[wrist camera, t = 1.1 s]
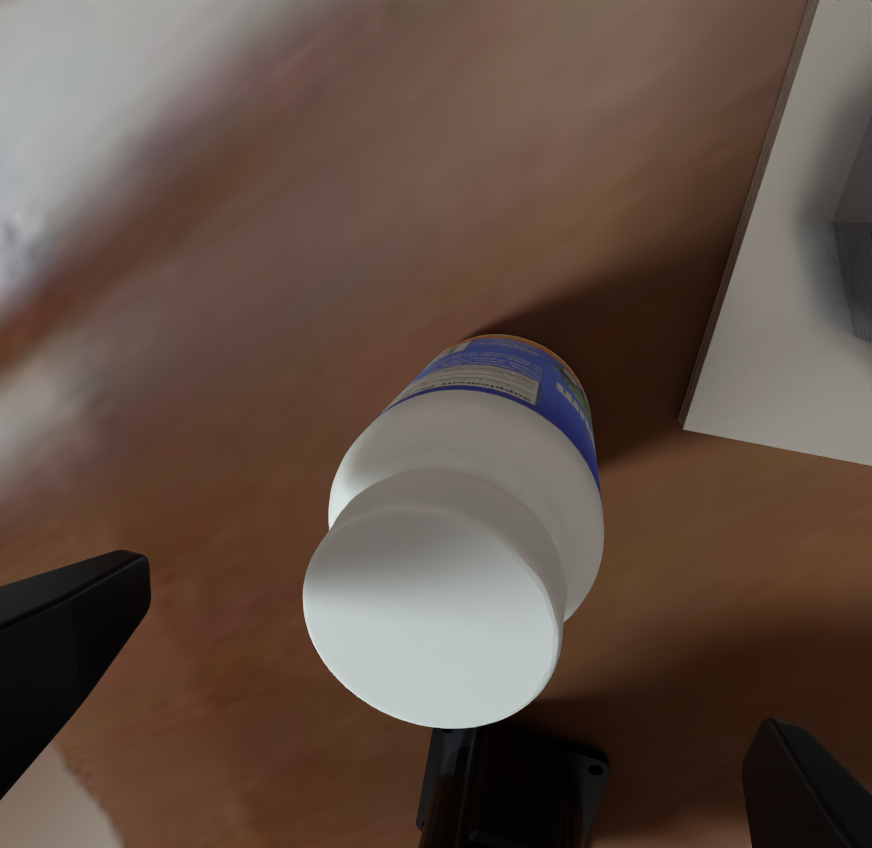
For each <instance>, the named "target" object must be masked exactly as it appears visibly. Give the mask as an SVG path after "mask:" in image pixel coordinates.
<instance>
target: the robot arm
mask: <svg viewBox="0 0 872 848" xmlns="http://www.w3.org/2000/svg"><path fill="white" fill-rule="evenodd" d="M150 602H151V586H150V569H149V561H148V559H147V557H146V556H144V555H142V554H139V553H135V552H131V551H127V550H116V551H113V552H110V553H107V554H103V555H100V556H97V557H94V558H90V559H87V560H84V561H81V562H78V563H74V564H71V565H68V566H65V567H61V568H58V569H55V570H52V571H49V572H45V573H42V574H39V575H36V576H33V577H29V578H26V579H23V580H20V581H16V582H13V583H10V584H7V585H4V586H0V800H1V799H2V798H3V797H4V795H5V794H6V793H7V792H8V791H9V789H10V788H11V787H12V786H13V785H14V784H15V783H16V781H17V780H18V779H19V778H20V777H21V776H22V774H23V773H24V772H25V771H26V770H27V768H28V767H29V766H30V765H31V764H32V763H33V761H34V760H35V759H36V758H37V757H38V755H39V754H40V753H41V752H42V751H43V750H44V748H45V747H46V746H47V745H48V744H49V743H50V741H51V740H52V739H53V738H54V737H55V736H56V734H57V733H58V732H59V731H60V730H61V729H62V727H63V726H64V725H65V724H66V723H67V722H68V720H69V719H70V718H71V717H72V716H73V714H74V713H75V712H76V711H77V709H78V708H79V707H80V706H81V704H82V703H83V702H84V701H85V699H86V698H87V697H88V695H89V694H90V693H91V691H92V690H93V689H94V687H95V686H96V684H97V683H98V682H99V680H100V679H101V677H102V676H103V675H104V673H105V672H106V670H107V669H108V667H109V666H110V665H111V663H112V662H113V660H114V659H115V658H116V656H117V655H118V653H119V652H120V651H121V649H122V648H123V646H124V645H125V643H126V642H127V641H128V639H129V638H130V636H131V635H132V634H133V632H134V631H135V629H136V628H137V627H138V625H139V624H140V622H141V621H142V619H143V618H144V617H145V615H146V613H147V611H148V609H149V606H150ZM596 765H597V766H596ZM609 775H610V765H609V759H608V757H607V756H606V755H605V754H604V753H603V752H600V751H598V750H594V749H591V748H587V747H584V746H580V745H576V744H573V743H569V742H566V741H562V740H558V739H555V738H551V737H547V736H544V735H540V734H537V733H533V732H529V731H526V730H522V729H519V728H515V727H511V726H508V725H504V724H501V723H497V722H493V723H490V724H486V725H482V726H477V727H471V728H457V729H446V728H435V727H433V731H432V737H431V742H430V748H429V753H428V759H427V764H426V770H425V776H424V781H423V787H422V792H421V798H420V803H419V809H418V814H417V820H416V825H417V827H418V829H420V830H421V831H422V835H421V839H420V844H419V848H584V846H585V843H586V840H587V837H588V834H589V831H590V829H591V826H592V823H593V820H594V817H595V814H596V812H597V809H598V806H599V803H600V800H601V797H602V795H603V792H604V789H605V786H606V783H607V780H608V778H609ZM742 782H743V789H744V796H745V802H746V809H747V816H748V822H749V829H750V836H751V842H752V848H872V794H871V793H870V792H869V791H868V790H867V789H866V788H865V787H864V786H863V785H862V784H861V783H860V782H859V781H858V780H857V779H856V778H855V777H854V776H853V775H852V774H851V773H850V772H849V771H848V770H847V769H846V768H845V767H844V766H843V765H842V764H841V763H840V762H839V761H838V760H837V759H836V758H835V757H834V756H833V755H832V754H831V753H830V752H829V751H828V750H827V749H826V748H824V747H823V746H822V745H821V744H820V743H819V742H818V741H817V740H816V739H815V738H814V737H813V736H812V735H811V734H810V733H809V732H808V731H807V730H806V729H805V728H804V727H803V726H801V725H799V724H797V723H793V722H789V721H786V720H782V719H778V718H774V717H767V718H765V719H764V720H762V722H761V723H760V725H759V727H758V729H757V732H756V734H755V736H754V738H753V740H752V742H751V745H750V747H749V749H748V751H747V753H746V755H745V758H744V760H743V765H742Z"/></svg>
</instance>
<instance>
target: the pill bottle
mask: <svg viewBox="0 0 872 848" xmlns="http://www.w3.org/2000/svg"><path fill="white" fill-rule="evenodd" d="M603 543H604V522H603V511H602V502H601V494H600V485H599V477H598V467H597V461H596V451H595V442H594V435H593V428H592V419H591V412H590V407H589V404H588V400H587V397H586V395H585V392H584V390H583V388H582V386H581V384H580V382H579V380H578V378H577V377H576V375H575V374H574V372H573V371H572V370H571V368H570V367H569V366H568V365H567V364H566V363H565V362H564V361H563V360H562V359H561V358H560V357H559V356H557V355H556V354H555V353H553V352H552V351H551V350H549V349H547V348H546V347H544V346H542V345H540V344H538V343H536V342H533V341H530V340H527V339H524V338H521V337H517V336H511V335H504V334H489V335H481V336H476V337H473V338H469V339H466V340H464V341H461V342H459V343H456V344H454V345H452V346H450V347H448V348H447V349H445V350H444V351H443V352H442V353H440V354H439V355H438V356H437V357H436V358H435V359H434V360H433V361H432V362H431V363H430V364H429V365H428V366H427V367H426V368H425V369H424V370H423V371H422V372H421V373H420V374H419V375H418V376H417V377H416V378H415V379H414V380H413V381H412V382H411V383H410V385H409V386H408V387H407V388H406V389H405V390H404V391H403V392H402V393H401V394H400V395H399V396H398V397H397V398H396V399H395V400H394V401H393V402H392V403H391V404H390V405H389V406H388V407H387V408H386V409H385V410H384V411H383V412H382V413H381V414H380V415H379V416H378V417H377V418H376V419H375V420H374V421H373V422H372V423H371V424H370V425H369V426H368V427H367V429H366V430H365V431H364V432H363V433H362V434H361V435H360V436H359V437H358V439H357V440H356V441H355V442H354V443H353V445H352V446H351V448H350V449H349V450H348V452H347V453H346V455H345V457H344V458H343V460H342V462H341V464H340V467H339V469H338V471H337V474H336V476H335V479H334V481H333V484H332V489H331V493H330V502H329V532H328V533H327V534H326V536H325V537H324V539H323V540H322V541H321V543H320V544H319V546H318V548H317V549H316V551H315V553H314V554H313V556H312V558H311V561H310V563H309V566H308V569H307V572H306V575H305V580H304V587H303V609H304V615H305V621H306V624H307V628H308V632H309V635H310V637H311V640H312V642H313V644H314V646H315V648H316V650H317V652H318V653H319V655H320V657H321V659H322V660H323V662H324V663H325V664H326V666H327V667H328V668H329V670H330V671H331V672H332V673H333V674H334V675H335V676H336V678H337V679H338V680H339V681H340V682H341V683H342V684H343V685H344V686H345V687H346V688H347V689H349V690H350V691H351V692H352V693H354V694H355V695H356V696H357V697H359V698H360V699H362V700H363V701H365V702H366V703H368V704H369V705H371V706H373V707H374V708H376V709H378V710H380V711H382V712H384V713H386V714H388V715H391V716H393V717H395V718H398V719H400V720H404V721H407V722H411V723H414V724H418V725H423V726H428V727H435V728H446V729H457V728H471V727H477V726H482V725H486V724H490V723H493V722H497V721H499V720H502V719H504V718H507V717H509V716H511V715H512V714H514V713H516V712H518V711H519V710H521V709H522V708H524V707H525V706H527V705H528V704H529V703H530V702H531V701H532V700H534V699H535V698H536V697H537V696H538V694H539V693H540V692H541V691H542V690H543V689H544V687H545V686H546V684H547V682H548V681H549V680H550V678H551V676H552V674H553V671H554V670H555V668H556V665H557V661H558V658H559V656H560V650H561V643H562V635H563V623H564V622H565V621H566V620H567V619H568V618H569V617H570V616H571V615H572V614H573V613H574V612H575V611H576V609H577V608H578V607H579V605H580V604H581V603H582V602H583V600H584V599H585V597H586V596H587V594H588V593H589V591H590V589H591V587H592V585H593V583H594V581H595V579H596V576H597V573H598V570H599V566H600V562H601V560H602V553H603Z"/></svg>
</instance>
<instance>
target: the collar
mask: <svg viewBox="0 0 872 848" xmlns="http://www.w3.org/2000/svg"><path fill="white" fill-rule="evenodd" d="M678 422H679V423H680V425H681V427H682V429H683V430H689V431H694V432H699V433H704V434H709V435H715V436H720V437H725V438H730V439H735V440H741V441H746V442H751V443H756V444H761V445H767V446H772V447H777V448H782V449H788V450H793V451H798V452H803V453H808V454H814V455H819V456H824V457H829V458H834V459H840V460H845V461H850V462H855V463H860V464H866V465H871V466H872V0H808V4H807V7H806V10H805V13H804V16H803V20H802V23H801V26H800V29H799V32H798V36H797V39H796V42H795V45H794V48H793V52H792V55H791V58H790V61H789V64H788V68H787V71H786V74H785V77H784V80H783V84H782V87H781V90H780V93H779V96H778V100H777V103H776V106H775V109H774V112H773V116H772V119H771V122H770V125H769V128H768V132H767V135H766V138H765V141H764V144H763V148H762V151H761V154H760V157H759V160H758V164H757V167H756V170H755V173H754V176H753V180H752V183H751V186H750V189H749V192H748V196H747V199H746V202H745V205H744V208H743V212H742V215H741V218H740V221H739V224H738V228H737V231H736V234H735V237H734V240H733V244H732V247H731V250H730V253H729V256H728V260H727V263H726V266H725V269H724V272H723V276H722V279H721V282H720V285H719V288H718V292H717V295H716V298H715V301H714V304H713V308H712V311H711V314H710V317H709V320H708V324H707V327H706V330H705V333H704V336H703V340H702V343H701V346H700V349H699V352H698V356H697V359H696V362H695V365H694V368H693V372H692V375H691V378H690V381H689V384H688V388H687V391H686V394H685V397H684V400H683V404H682V407H681V410H680V413H679V416H678Z"/></svg>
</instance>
